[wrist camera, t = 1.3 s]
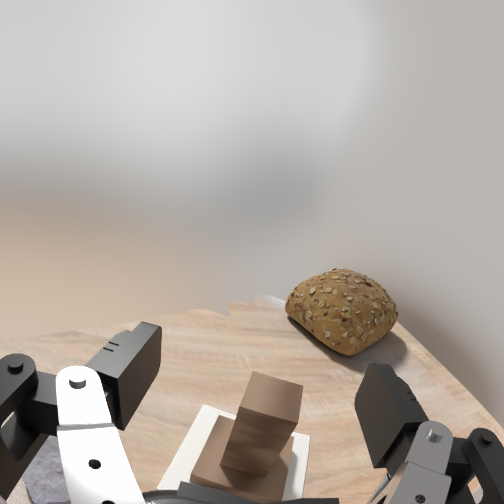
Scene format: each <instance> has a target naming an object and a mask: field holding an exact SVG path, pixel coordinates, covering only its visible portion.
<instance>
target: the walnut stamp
mask: <svg viewBox="0 0 504 504" xmlns="http://www.w3.org/2000/svg"><path fill="white" fill-rule="evenodd" d="M302 392H303V386H302V385H299V384H295V383H291V382H288V381H284V380H280V379H277V378H274V377H270V376H267V375H264V374H260V373H257V372H254V371H253V373H252V375H251V378H250V381H249V383H248V386H247V389H246V391H245V394H244V396H243V399H242V402H241V404H240V407H239V410H238V413H237V416H236V419H235V420H233V419H230V418H227V417H224V416H221V415H218V418H217V420H216V422H215V424H214V426H213V428H212V430H211V433H210V435H209V437H208V439H207V441H206V443H205V445H204V447H203V449H202V451H201V454H200V456H199V458H198V460H197V462H196V464H195V466H194V468H193V470H192V472H191V475H190V480H189V481H190V482H193V483H196V484H198V485H201V486H205V487H210V488H215V489H220V490H223V491H226V492H228V493H231V494H234V495H237V496H239V497H242V498H245V499H248V500H251V501H254V502H258V503H272V502H280V501H282V498H283V493H284V488H285V484H286V479H287V474H288V469H289V463H290V458H291V453H292V447H293V441H294V437H293V436H291V434H292V432H293V431H294V429H295V427H296V425H297V424H298V419H299V413H300V406H301V399H302Z"/></svg>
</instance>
